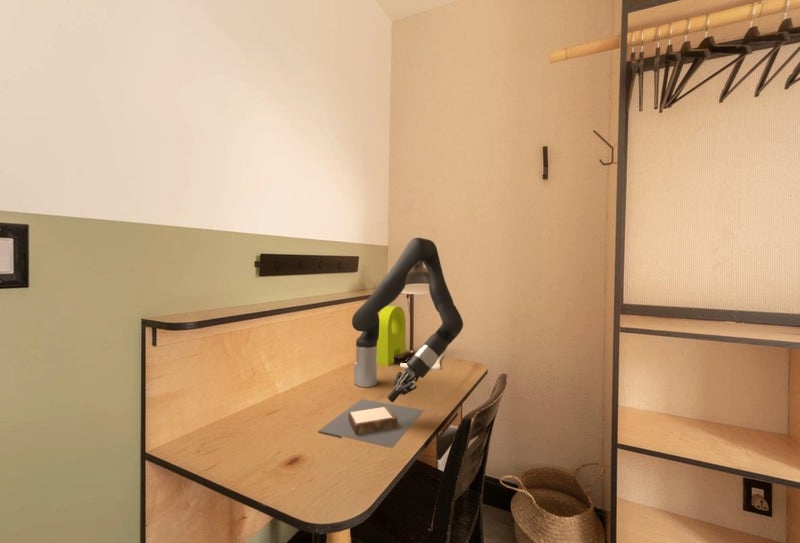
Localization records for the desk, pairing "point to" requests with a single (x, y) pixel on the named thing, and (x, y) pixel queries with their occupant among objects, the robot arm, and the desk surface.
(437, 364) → the flat white fragment
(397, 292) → the robot arm
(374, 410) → the walnut picture frame
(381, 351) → the decorative object
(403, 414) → the desk mat
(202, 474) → the desk surface
